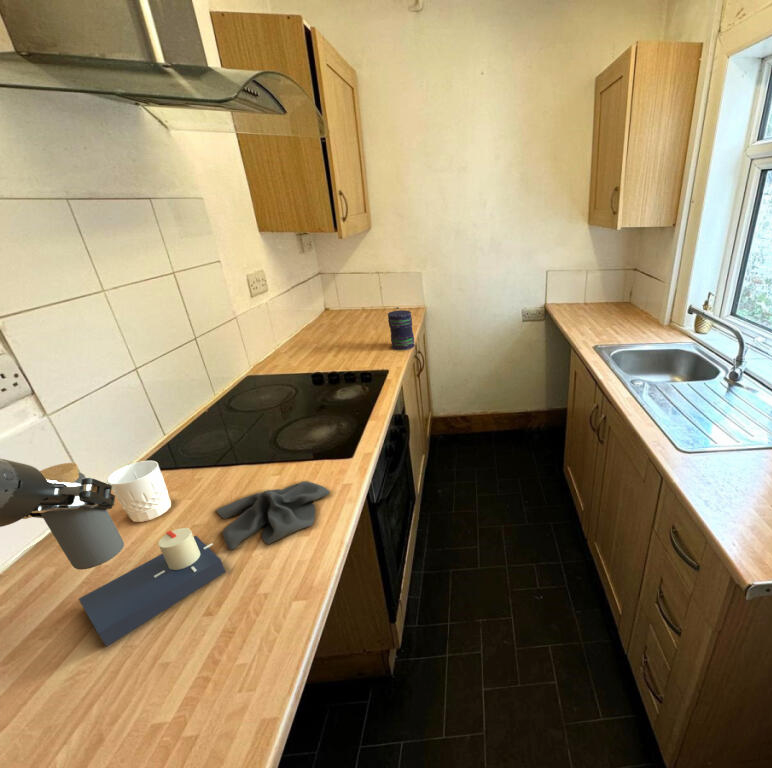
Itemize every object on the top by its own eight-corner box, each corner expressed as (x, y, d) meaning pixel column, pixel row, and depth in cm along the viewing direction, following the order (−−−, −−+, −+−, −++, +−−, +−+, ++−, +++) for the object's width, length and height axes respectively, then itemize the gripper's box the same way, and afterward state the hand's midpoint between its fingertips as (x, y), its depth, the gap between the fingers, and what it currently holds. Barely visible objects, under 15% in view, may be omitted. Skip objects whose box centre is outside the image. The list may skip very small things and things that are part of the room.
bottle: (123, 534, 67) (81, 455, 61) (126, 554, 63) (82, 471, 57) (72, 555, 63) (23, 472, 57) (72, 577, 59) (19, 491, 53)
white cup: (173, 514, 86) (156, 474, 82) (124, 530, 82) (103, 489, 78) (175, 494, 92) (159, 456, 88) (129, 508, 88) (110, 468, 84)
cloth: (335, 479, 96) (329, 457, 93) (315, 539, 79) (309, 513, 77) (229, 492, 92) (221, 469, 90) (185, 557, 75) (174, 531, 73)
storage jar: (393, 343, 187) (388, 303, 179) (415, 342, 188) (411, 302, 180) (390, 350, 178) (384, 309, 170) (413, 349, 178) (408, 308, 171)
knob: (205, 555, 72) (195, 532, 70) (176, 574, 68) (165, 550, 66) (192, 546, 74) (182, 523, 72) (163, 563, 70) (152, 539, 68)
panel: (106, 647, 60) (97, 632, 59) (86, 612, 65) (77, 598, 64) (230, 568, 73) (225, 555, 72) (205, 544, 78) (200, 531, 77)
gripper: (-128, 539, 43) (18, 544, 58) (45, 511, 46) (139, 522, 62) (-106, 467, 45) (28, 490, 61) (56, 446, 49) (144, 472, 64)
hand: (84, 506), depth 61 cm, fingers closed on bottle, 6 cm apart
